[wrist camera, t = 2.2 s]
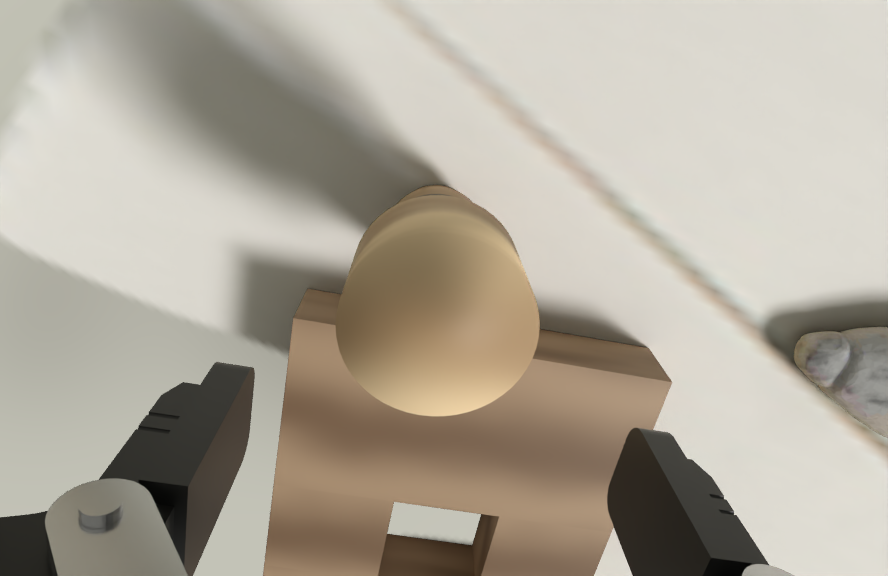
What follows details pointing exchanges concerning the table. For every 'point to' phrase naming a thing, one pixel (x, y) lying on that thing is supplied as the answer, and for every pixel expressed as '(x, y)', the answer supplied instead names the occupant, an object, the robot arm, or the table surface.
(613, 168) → the table surface
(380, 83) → the table surface
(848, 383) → the decorative stone
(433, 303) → the oak peg
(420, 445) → the wooden board with hole
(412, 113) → the table surface
